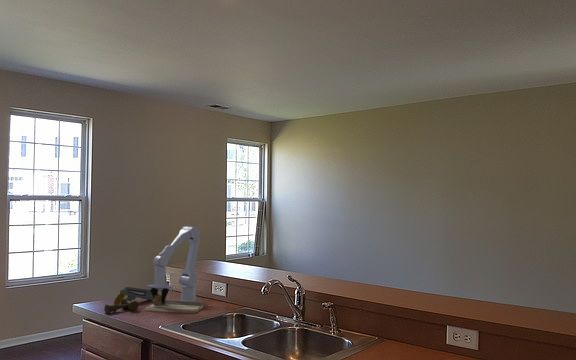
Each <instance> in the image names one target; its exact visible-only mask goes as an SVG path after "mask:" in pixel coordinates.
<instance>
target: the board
mask: <svg viewBox="0 0 576 360" xmlns="http://www.w3.org/2000/svg"><path fill="white" fill-rule="evenodd" d="M203 308H204V301H200V300H197V301H182V300H181V299H180V300H177V299H165V304H164V305H162V306H154V303H152V304H150V305H148V306H146V307H145V308H144V310H145V311H148V312H161V313H162V312H164V313H165V312H167V313H179V314H181V313H182V314H196V313H197V312H199V311H200V310H202V309H203Z"/></svg>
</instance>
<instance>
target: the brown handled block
mask: <svg viewBox="0 0 576 360" xmlns="http://www.w3.org/2000/svg"><path fill="white" fill-rule="evenodd" d="M152 303H153V304H154V306H162V305H164V304H165V302H164V303H162V293H158V294H156V295H154V299H153V300H152Z"/></svg>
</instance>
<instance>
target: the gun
mask: <svg viewBox="0 0 576 360" xmlns="http://www.w3.org/2000/svg"><path fill="white" fill-rule="evenodd" d="M150 290H151V289H150V288H149V289H147V288H143V287H142V288H141V287H133V286H127V285H126V286H124V288H122V289H120V293H119V294H118V295H117V296H116V297H115V298H114V301H113V304H116V305H120V304H121V301H122V299H124V298H129V299H130V301H131V302H132V301H136V299H137V298H139V299H142V300H149V301H153V300H154V298H153V295H152V293H151V291H150Z"/></svg>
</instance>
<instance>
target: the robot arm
mask: <svg viewBox="0 0 576 360" xmlns="http://www.w3.org/2000/svg"><path fill="white" fill-rule="evenodd" d="M200 234H201V231H200V229H199V228H198V227H197V226H188V225H184V226H182V228H181V229H180V230H179V233H178V234H177V236H176V237H174V239H173V241H172V242H171V244H167V245H165V247H164V246H163V247H164V248H163V249H162V251H161V252H160V253H158V255H156V256H155V257H154V258H153V260H152V264H153V266H154V284H147V285H146V289H151V290H150V291H151V293H152V295H153V298H154V295H156V294H159V293H158V292H159V290H161V291H160V292H161V294H162V303H164V302H165V300H167V295H168V293H169V292H170V291H172V290H173V289H174V288H173V287H174V286H173V285H170V284H169V285H168V284H166V266H167V265H168V263H169V261H170V259H171V257H172V256H173V255H174V254H175V253H176V248H177V247H178V246H179V245H180V244H182V242H183V241H184V240H188V242H189V248H188V253H187V257H186V258H187V259H186V264H185V268H184V269H183V271H182V272H181V274H180V275H179V279H178V283H179V285H180V287H181V288H180V289H181V291H180V293H181V296H180V297H181V298H180V300H182V301H198V299H197V295H196V294H197V293H196V292H197V289H196V287H195V286H196V285H197V282H198V280H197V276H198V275H197V272H195V271H196V269H195V268H196V264H197V259H198V253H199V248H200V244H201V238H200V237H201V236H200Z"/></svg>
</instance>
